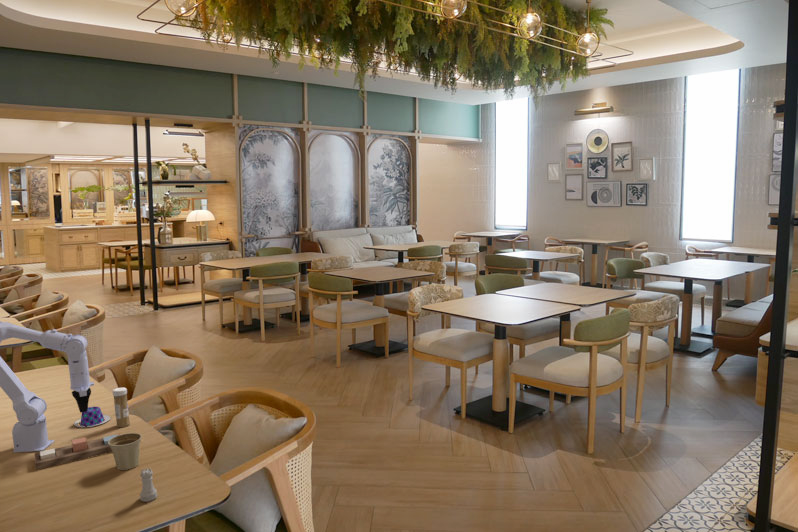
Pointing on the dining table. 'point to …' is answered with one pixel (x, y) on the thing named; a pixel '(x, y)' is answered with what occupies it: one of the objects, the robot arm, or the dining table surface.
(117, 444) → the flower pot
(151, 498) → the rook chess piece
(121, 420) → the sprinkles bottle
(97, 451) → the board
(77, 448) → the brick key
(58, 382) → the dining table surface
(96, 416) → the purple domed brimmed piece
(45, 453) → the white key
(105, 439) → the blue key
